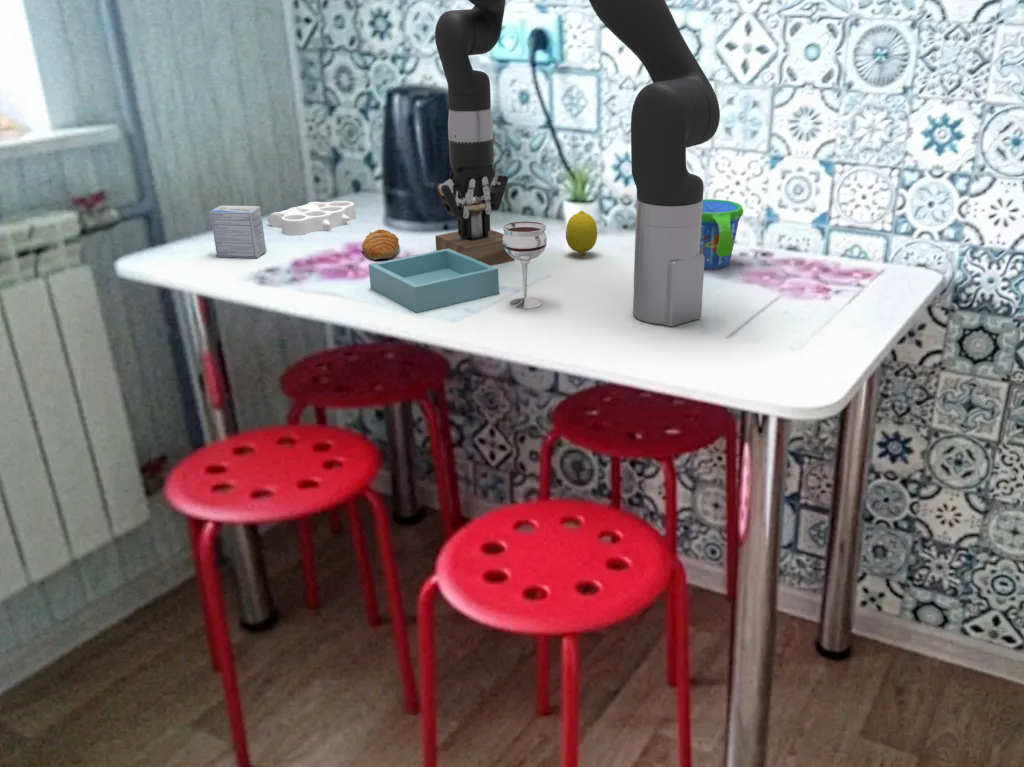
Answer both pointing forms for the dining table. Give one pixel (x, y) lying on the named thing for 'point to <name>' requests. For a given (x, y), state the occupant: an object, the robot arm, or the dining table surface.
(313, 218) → the knuckle duster
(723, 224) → the snack cup
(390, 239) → the pastry
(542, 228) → the wineglass
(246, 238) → the medicine box
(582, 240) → the lemon
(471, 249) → the wooden square hole block
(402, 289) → the pin tray
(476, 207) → the lock pin
